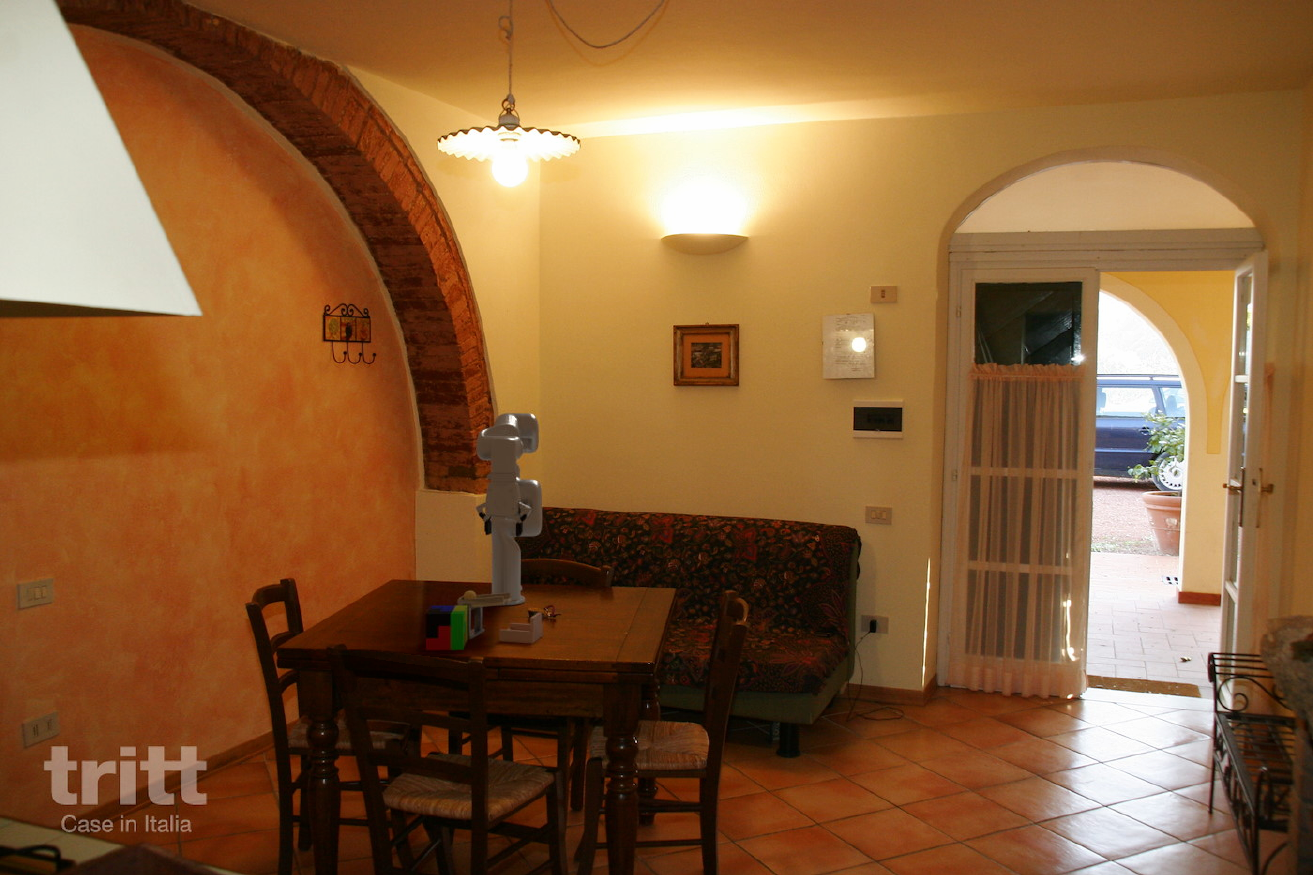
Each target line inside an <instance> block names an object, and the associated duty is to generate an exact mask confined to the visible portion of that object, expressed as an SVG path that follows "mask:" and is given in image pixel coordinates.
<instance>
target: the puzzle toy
mask: <svg viewBox="0 0 1313 875" xmlns="http://www.w3.org/2000/svg"><path fill="white" fill-rule="evenodd" d="M467 642H468V639H467V606H454V605H431V606H430V607H429V608H428V610H427V612H426V613H425V651H455V650H456V651H460V650H461V651H463V650H464V649H465V646H466V643H467Z"/></svg>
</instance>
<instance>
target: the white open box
mask: <svg viewBox="0 0 1313 875" xmlns="http://www.w3.org/2000/svg"><path fill="white" fill-rule="evenodd" d="M543 628H544V625H543V612H537V613H536V614H534V615H533V616H531V617H530V619H529V623H518V622H510V623H509V627H508V628H507V629H503V628H502V629H499V642H505V643H506V642H507V643H520V644H522V643H523V644H532V645H533V644H534V643H535V642H536V641H538V640H540V639H541V638H542V637H543V636H544V634H543V632H544V629H543ZM540 637H541V638H540Z"/></svg>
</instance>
